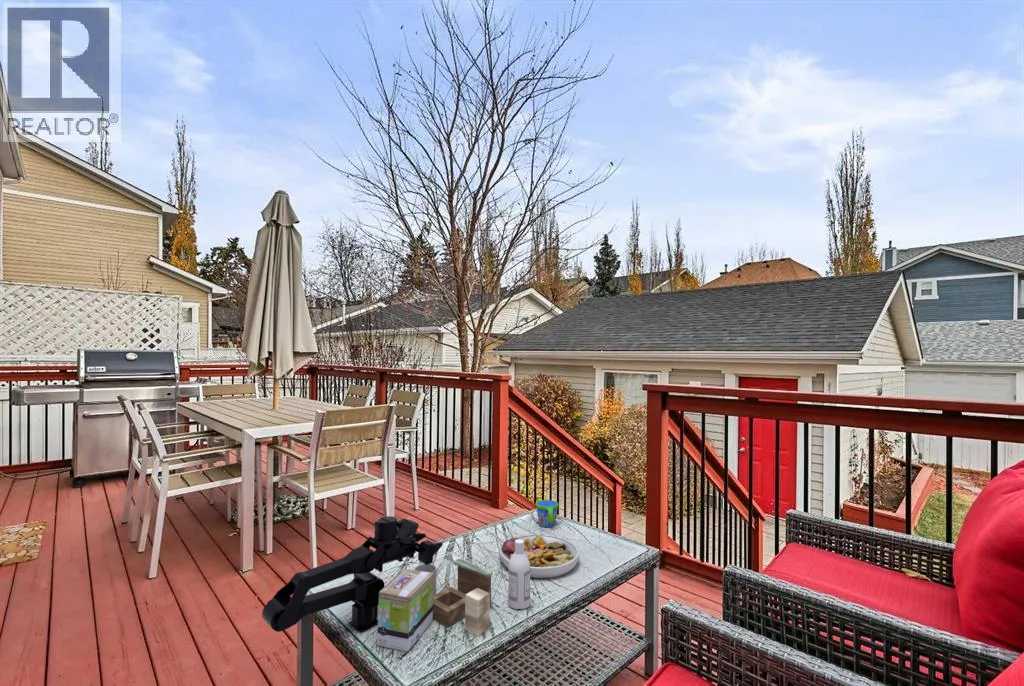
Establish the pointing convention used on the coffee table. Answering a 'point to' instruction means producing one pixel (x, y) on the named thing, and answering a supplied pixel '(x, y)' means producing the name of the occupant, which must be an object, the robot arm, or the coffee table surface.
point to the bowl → (543, 554)
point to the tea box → (405, 609)
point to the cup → (430, 569)
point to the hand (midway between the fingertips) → (433, 539)
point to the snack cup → (547, 512)
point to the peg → (477, 611)
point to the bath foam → (519, 578)
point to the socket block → (460, 593)
